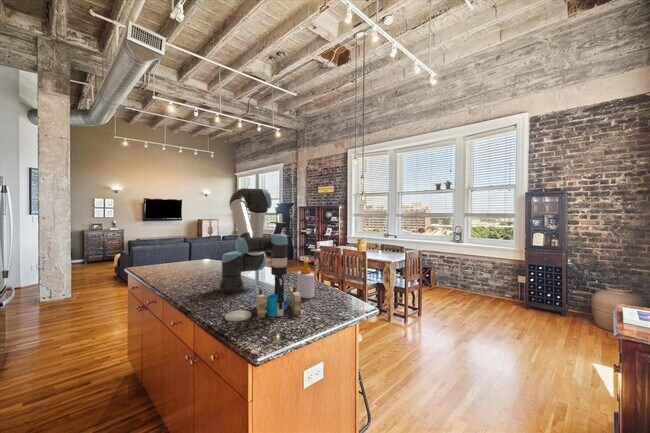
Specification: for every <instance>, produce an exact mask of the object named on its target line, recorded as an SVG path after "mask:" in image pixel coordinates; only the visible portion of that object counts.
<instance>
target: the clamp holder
mask: <svg viewBox="0 0 650 433" xmlns="http://www.w3.org/2000/svg"><path fill="white" fill-rule="evenodd" d="M255 292H256V295H255V296H256V297H255V300H256V302H255V303H256V304H255V306H256V313H257V317H258V319H264V318H266V309H267V299H266V297H265V294H264V290H263V288H258V289H256V290H255ZM288 300H289V305H288V307H290V308H291V310H292V312H293V314H294V315H301V314H302V312H301V311H302V297H301V295H300V293H299V292H298V291H297V286H289V287H288ZM286 305H287V300H286V299H285V298H284V307H285V306H286Z"/></svg>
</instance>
